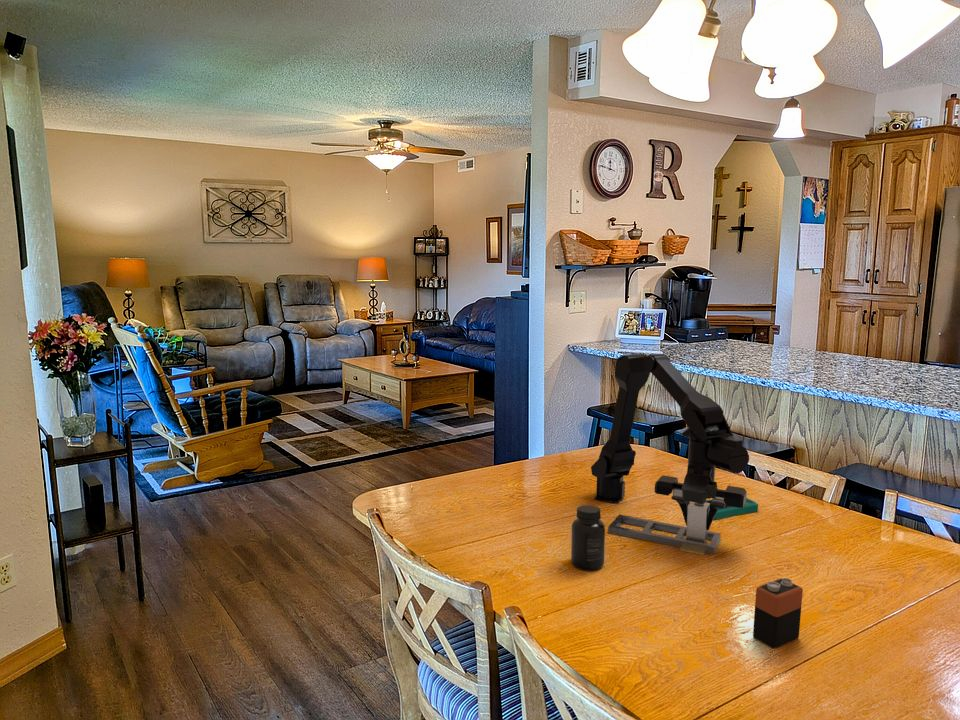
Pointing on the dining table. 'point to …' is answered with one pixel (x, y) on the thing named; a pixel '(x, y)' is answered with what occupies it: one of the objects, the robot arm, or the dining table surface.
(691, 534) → the grey tall square block
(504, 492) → the dining table surface
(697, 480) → the robot arm
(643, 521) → the rail frame
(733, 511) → the digital multimeter
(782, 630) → the battery
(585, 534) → the supplement bottle
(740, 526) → the dining table surface
